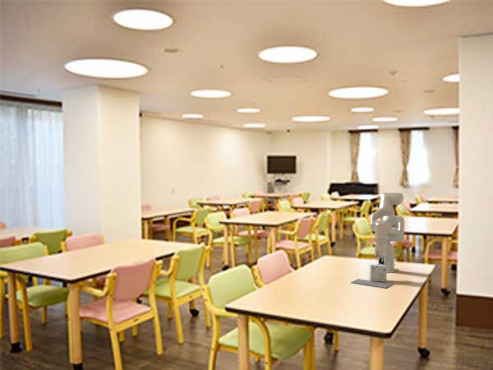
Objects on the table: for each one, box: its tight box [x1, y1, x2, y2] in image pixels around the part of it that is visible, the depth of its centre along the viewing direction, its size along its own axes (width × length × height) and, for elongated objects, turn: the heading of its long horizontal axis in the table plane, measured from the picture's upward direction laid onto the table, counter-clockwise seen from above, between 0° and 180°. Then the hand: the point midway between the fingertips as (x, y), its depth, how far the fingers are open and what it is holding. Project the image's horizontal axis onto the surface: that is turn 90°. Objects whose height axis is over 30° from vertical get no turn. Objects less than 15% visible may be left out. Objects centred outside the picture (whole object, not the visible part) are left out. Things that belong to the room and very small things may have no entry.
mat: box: [350, 278, 393, 290], centre depth 275 cm, size 10×24×1 cm, turn 49°
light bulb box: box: [368, 263, 388, 283], centre depth 282 cm, size 11×7×11 cm, turn 84°
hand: (381, 266), depth 287 cm, fingers closed
